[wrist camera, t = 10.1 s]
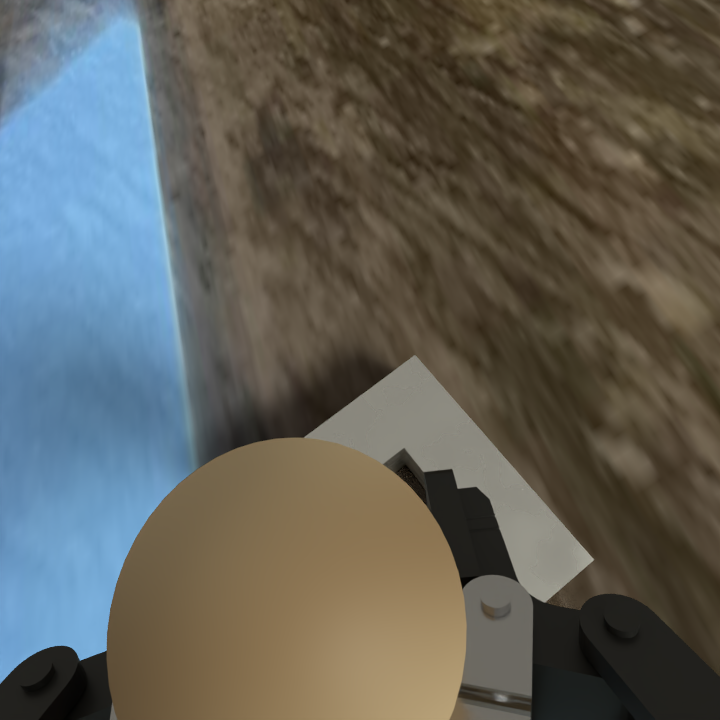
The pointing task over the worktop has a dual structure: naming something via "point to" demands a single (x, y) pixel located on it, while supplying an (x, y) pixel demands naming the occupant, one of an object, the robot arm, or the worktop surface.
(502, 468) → the white square frame block
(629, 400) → the worktop surface
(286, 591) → the peg
